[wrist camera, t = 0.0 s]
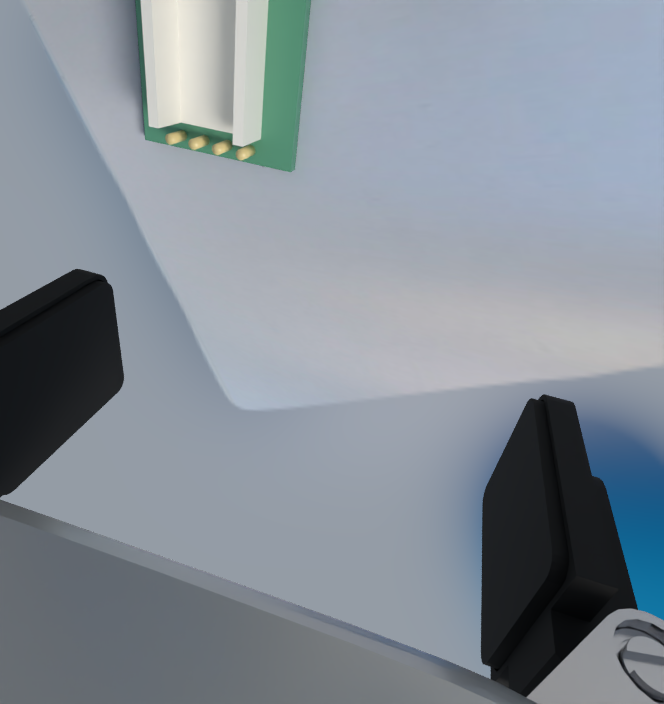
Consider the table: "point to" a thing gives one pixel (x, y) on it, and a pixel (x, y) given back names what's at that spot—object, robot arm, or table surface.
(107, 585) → the robot arm
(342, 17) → the table surface
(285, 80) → the board
